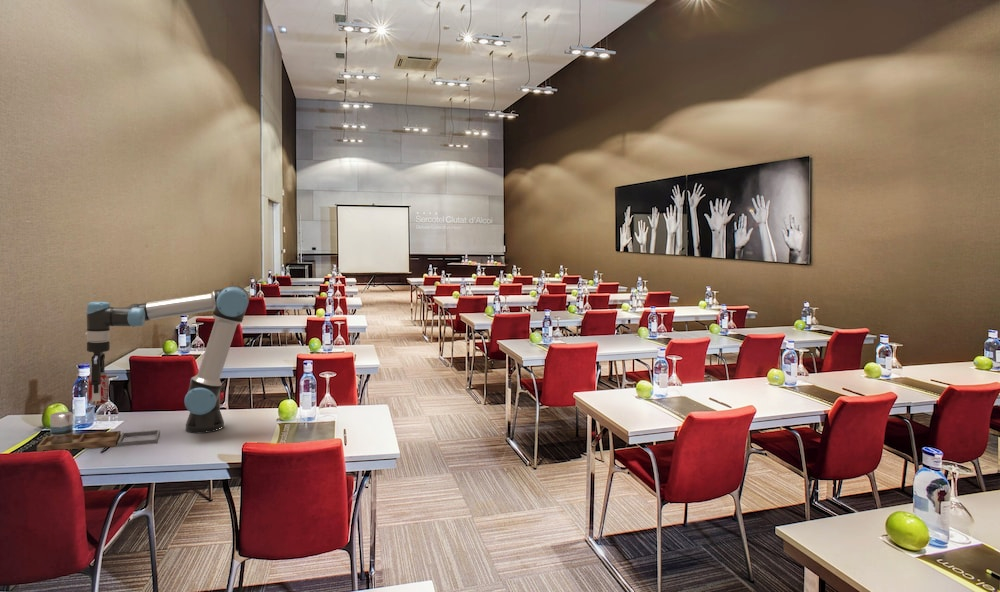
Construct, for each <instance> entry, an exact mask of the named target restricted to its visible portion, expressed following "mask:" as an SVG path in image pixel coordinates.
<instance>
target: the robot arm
mask: <svg viewBox="0 0 1000 592" xmlns="http://www.w3.org/2000/svg"><path fill="white" fill-rule="evenodd" d="M249 303H250V295H249V293H248V291H247V289H245V288H244V287H241V286H240V285H231V286H228V287H224V288H219V289H215V290H212V292H211V293H209V292H208V293H204V294H196V295H189V296H183V297H175V298H168V299H163V300H155V301H149V302H143V303H132V304H130V305H127V306H124V307H123V306H122V307H117V306H116V307H114V306H111V305H110V302H108V301H91V302H88V303H87V305H86V306H87V308H86V332H85V333H84V335H85V336H86V341H87V342H86V351H87V352H88V353H93V354H92V356H91V373H92V377H91V383H90V385H92V401H101V384H100V375H101V372H104V373H106V372H105V368H106V367H105V358H106V352H108V351H110V344H111V343H110V339H111V329H110V327H133V328H134V327H143V326H144V324H145V322H147V321H152V320H153V321H154V320H159V319H161V320H162V319H165V318H166V319H167V318H172V317H178V316H179V317H180V316H186V315H193V314H199V313H205V312H212V311H213V314H212V316H213V317H214V322H213V326H212V328H211V329H212V330H211V331H210V332H211V333H210V335H209V338H208V342H207V344H206V347H205V350H204V354H203V357H202V360H201V362H200V367H199V370H198V372H197V374H195V375H194V376H191V378H190V382H189V387H188V390H187V393H186V394H185V396H184V399H183V402H184V407H185V408H186V410H187V411H188V412H189V414H188V417H187V420H186V423H185V431H186V432H188V431H189V433H194V432H205V433H207V432H206V431H212V432H214V431H213V430H216V429H219V428H221V427H223V426H224V427H225V420H224V418H223V415H222V412H221V409H220V408H221V407H220V406H221V388H222V385H223V383H222V382H221V376H222V373H223V370H224V366H225V363H226V360H227V359H228V358H227V357H228V354H229V351H230V348H231V345H232V342H233V338H234V335H235V332H236V330H237V327H238V325H239V324H242V322H243V320H244V318H245V314H246V312H247V308H248V306H249ZM224 427H223V428H224Z"/></svg>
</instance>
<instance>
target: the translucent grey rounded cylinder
mask: <svg viewBox="0 0 1000 592" xmlns="http://www.w3.org/2000/svg"><path fill="white" fill-rule="evenodd" d="M49 415H50V417H49V419H50V422H49V423H50V425H49V427H50V428H49V431H50V432H49V433H50V436H51V445H53V444H66V443H73V434H74V433H73V432H74V424H73V421H74V419H73V412H71V411H59V412H58V411H57V412H54V413H51V414H49Z"/></svg>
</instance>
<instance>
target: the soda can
mask: <svg viewBox="0 0 1000 592" xmlns="http://www.w3.org/2000/svg"><path fill="white" fill-rule="evenodd" d="M91 377H92V372H90V373H89V376H88V377H87V383H86V384H87V385H86V387H87V389H86V391H87V394H86V395H87V396H86V399H87V404H89V405H90V406H102V405H105V404H106V403H108V402H109V396H110V395H109V393H110V391H109V390H110V389H109V388H110V387H109V386H110V383H109V376H108V374H107V372H105V373H104V372H101V375H100V384H101V401H92V385H90V383H91Z"/></svg>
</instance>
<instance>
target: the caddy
mask: <svg viewBox="0 0 1000 592" xmlns="http://www.w3.org/2000/svg"><path fill="white" fill-rule="evenodd" d="M121 434H122V432H121V430H117V431H116V430H114V431H103V432H99V431H98V432H87V433H73V443H66V444H53V445H51V435H49V436H45V437H43V439H42V440H41V441H40V442H39V443H38V444H37V445H36V452H37V451H43V450H52V449H68V450H67V451H73V450H72V449H78V450H82V449H81V448H90V449H99V448H101V449H102V448H113V447H117V443H118V440H119V438H120V436H121ZM70 449H71V450H70Z"/></svg>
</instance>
